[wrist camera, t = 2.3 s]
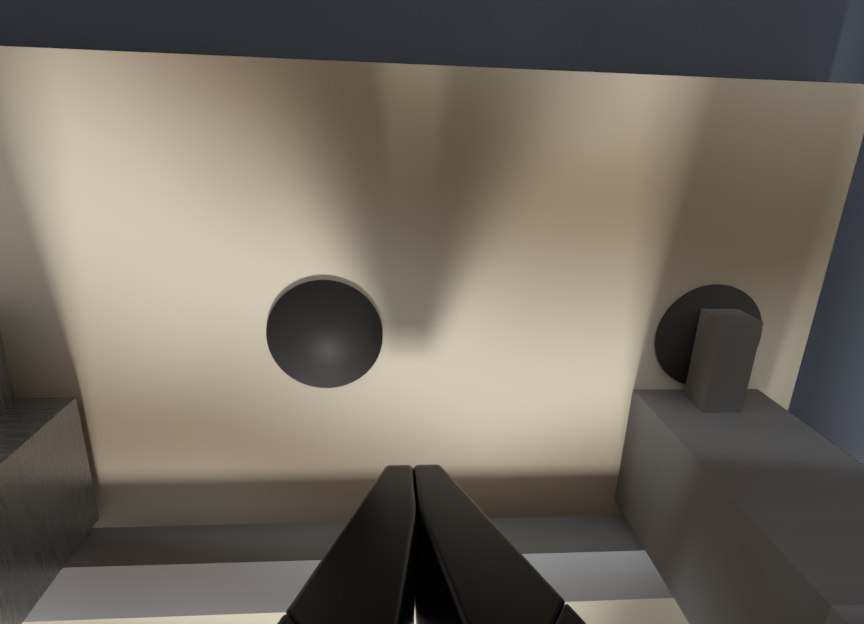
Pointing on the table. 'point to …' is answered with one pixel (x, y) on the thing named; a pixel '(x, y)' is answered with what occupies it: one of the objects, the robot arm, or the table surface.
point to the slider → (39, 494)
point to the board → (430, 323)
